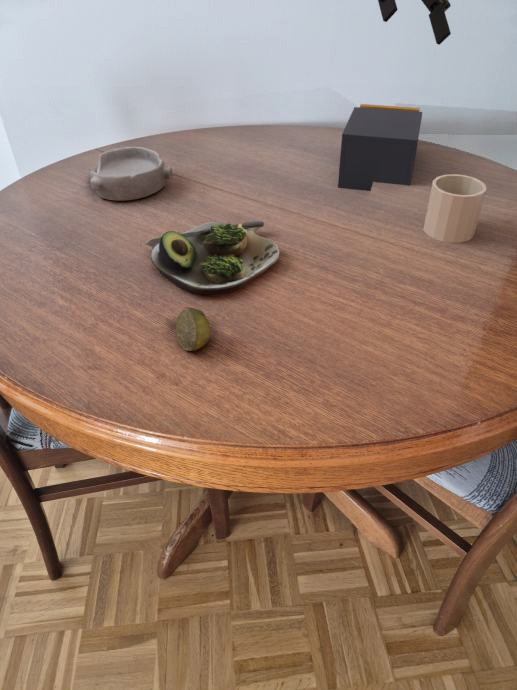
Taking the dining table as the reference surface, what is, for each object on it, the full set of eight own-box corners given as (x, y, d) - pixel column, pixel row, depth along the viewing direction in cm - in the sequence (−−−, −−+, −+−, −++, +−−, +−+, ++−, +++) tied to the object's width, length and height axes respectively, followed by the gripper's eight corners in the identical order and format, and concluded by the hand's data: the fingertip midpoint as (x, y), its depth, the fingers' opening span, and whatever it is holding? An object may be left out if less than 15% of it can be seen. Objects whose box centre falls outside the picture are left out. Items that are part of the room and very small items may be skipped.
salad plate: (228, 215, 91) (227, 189, 88) (308, 254, 81) (309, 226, 78) (132, 259, 81) (127, 231, 78) (210, 310, 71) (207, 280, 68)
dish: (96, 209, 93) (90, 181, 90) (88, 177, 103) (82, 151, 100) (179, 196, 97) (175, 168, 94) (163, 166, 107) (160, 141, 104)
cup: (470, 231, 86) (485, 176, 80) (471, 255, 80) (487, 198, 74) (422, 226, 87) (433, 172, 81) (420, 249, 82) (431, 193, 76)
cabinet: (349, 156, 109) (354, 107, 103) (413, 162, 106) (422, 111, 100) (337, 187, 99) (342, 133, 92) (408, 194, 96) (418, 140, 90)
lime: (202, 360, 64) (198, 327, 60) (167, 349, 65) (161, 317, 62) (219, 337, 67) (217, 305, 64) (185, 328, 68) (181, 296, 65)
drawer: (357, 141, 113) (361, 101, 108) (413, 145, 111) (420, 105, 106) (346, 169, 102) (350, 127, 97) (408, 175, 100) (415, 132, 95)
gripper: (423, -26, 110) (447, 61, 105) (327, -76, 97) (350, 22, 92) (452, -59, 104) (480, 32, 99) (354, -117, 91) (381, -15, 86)
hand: (418, 27), depth 96 cm, fingers open, 13 cm apart
